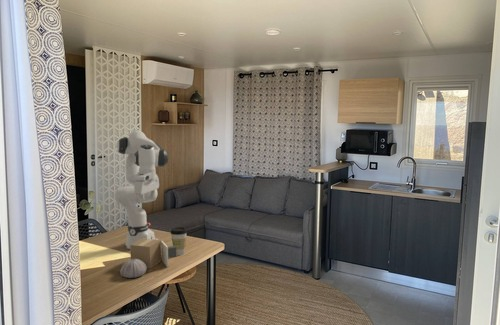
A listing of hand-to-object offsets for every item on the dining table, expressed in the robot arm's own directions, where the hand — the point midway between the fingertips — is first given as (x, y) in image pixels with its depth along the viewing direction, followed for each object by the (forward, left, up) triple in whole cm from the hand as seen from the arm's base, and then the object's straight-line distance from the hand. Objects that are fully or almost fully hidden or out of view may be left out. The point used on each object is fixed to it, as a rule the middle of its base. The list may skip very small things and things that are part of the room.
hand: (147, 199), depth 207 cm
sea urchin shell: (+15, -1, -37) cm, 40 cm away
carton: (0, -2, -36) cm, 36 cm away
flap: (-4, +10, -36) cm, 37 cm away
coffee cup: (-19, +9, -37) cm, 42 cm away
